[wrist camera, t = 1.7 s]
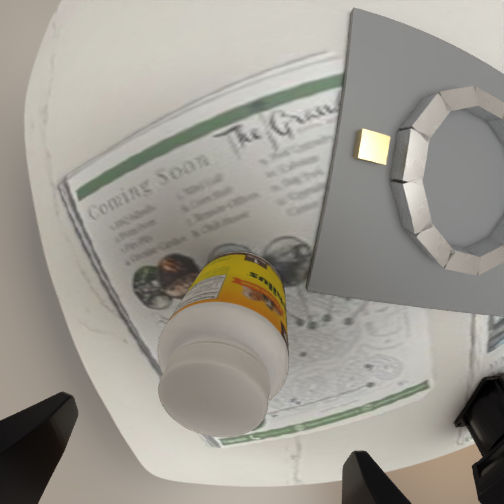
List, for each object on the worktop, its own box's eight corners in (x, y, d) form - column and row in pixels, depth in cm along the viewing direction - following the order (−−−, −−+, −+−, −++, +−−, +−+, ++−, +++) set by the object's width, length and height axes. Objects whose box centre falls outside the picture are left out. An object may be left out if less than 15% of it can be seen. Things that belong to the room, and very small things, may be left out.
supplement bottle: (298, 310, 19) (313, 433, 10) (222, 337, 20) (188, 457, 11) (262, 233, 18) (249, 317, 8) (182, 268, 19) (107, 364, 9)
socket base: (502, 312, 19) (520, 328, 16) (306, 286, 19) (310, 306, 16) (542, 107, 13) (564, 106, 11) (350, 12, 14) (361, -8, 11)
